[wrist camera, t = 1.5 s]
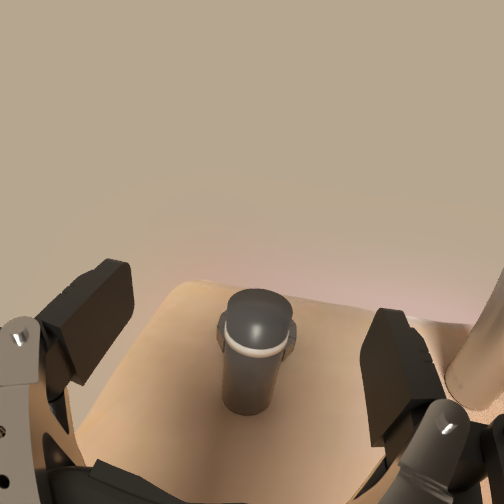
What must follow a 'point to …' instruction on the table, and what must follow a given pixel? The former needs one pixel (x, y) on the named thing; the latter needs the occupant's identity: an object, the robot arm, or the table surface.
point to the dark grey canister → (253, 348)
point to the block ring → (287, 348)
